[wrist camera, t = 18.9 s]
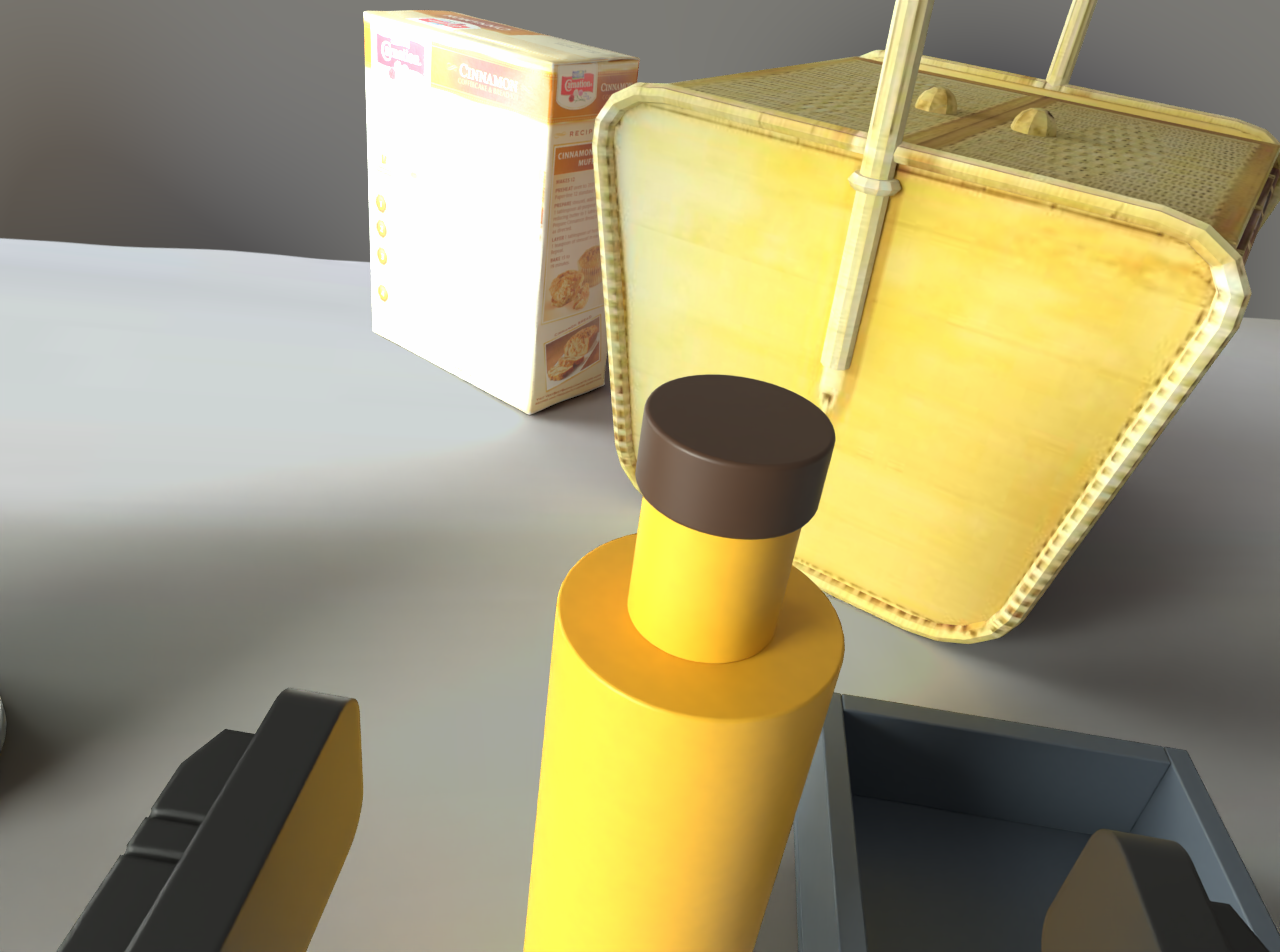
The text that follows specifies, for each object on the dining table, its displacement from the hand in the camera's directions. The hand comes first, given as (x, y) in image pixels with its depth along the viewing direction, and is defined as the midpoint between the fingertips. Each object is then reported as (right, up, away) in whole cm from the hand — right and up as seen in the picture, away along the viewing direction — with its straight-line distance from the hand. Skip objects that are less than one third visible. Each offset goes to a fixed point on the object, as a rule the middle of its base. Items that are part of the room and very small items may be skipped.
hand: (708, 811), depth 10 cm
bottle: (-1, -12, +16) cm, 20 cm away
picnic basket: (+13, +3, +44) cm, 47 cm away
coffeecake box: (-11, +11, +51) cm, 54 cm away
